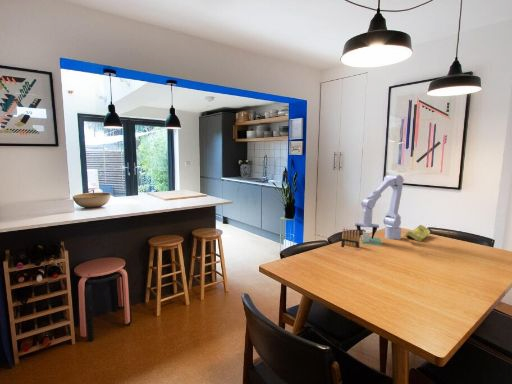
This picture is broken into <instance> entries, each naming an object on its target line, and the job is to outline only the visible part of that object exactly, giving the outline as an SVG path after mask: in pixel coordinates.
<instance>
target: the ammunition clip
mask: <svg viewBox="0 0 512 384" xmlns="http://www.w3.org/2000/svg"><path fill="white" fill-rule="evenodd" d="M360 238H361V236H360V237H359V230H357V229H355V230H354V229H352V228H351V229H350V228H349V229H348V228H345V227H343V229H342V235H341V245H340V247H342V248H345V246H348V247H353V248H354V247H355V250H357V251H358V250H360V249H357V248H360V240H361V239H360Z"/></svg>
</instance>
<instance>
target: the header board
mask: <svg viewBox="0 0 512 384" xmlns="http://www.w3.org/2000/svg"><path fill="white" fill-rule="evenodd" d="M360 238H361V239H360V240H361V245H369V246H378V247H383V246H384V245H383V243H382V239H381V238H380V237H373V239H372V236H369V242H363V235H360Z"/></svg>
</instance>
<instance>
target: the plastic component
mask: <svg viewBox="0 0 512 384" xmlns="http://www.w3.org/2000/svg"><path fill="white" fill-rule="evenodd" d="M430 234H431V231H430V229H429V228H427V227H426V226H424V225H422V224H419V225H418V226H417V227H416V228H414V229H413V230H412V231H410V230H409V231H408V232H407V233H405V235H404V236H403V237H406V238H408V237H411V238H412V239H414V240H415V241H416V242H422V241H423V240H424V239H426V238H427V237H429V236H430Z"/></svg>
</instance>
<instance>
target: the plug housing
mask: <svg viewBox="0 0 512 384" xmlns="http://www.w3.org/2000/svg"><path fill="white" fill-rule="evenodd" d="M362 236H363V242H369V237H370V232H369V231H362Z"/></svg>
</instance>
